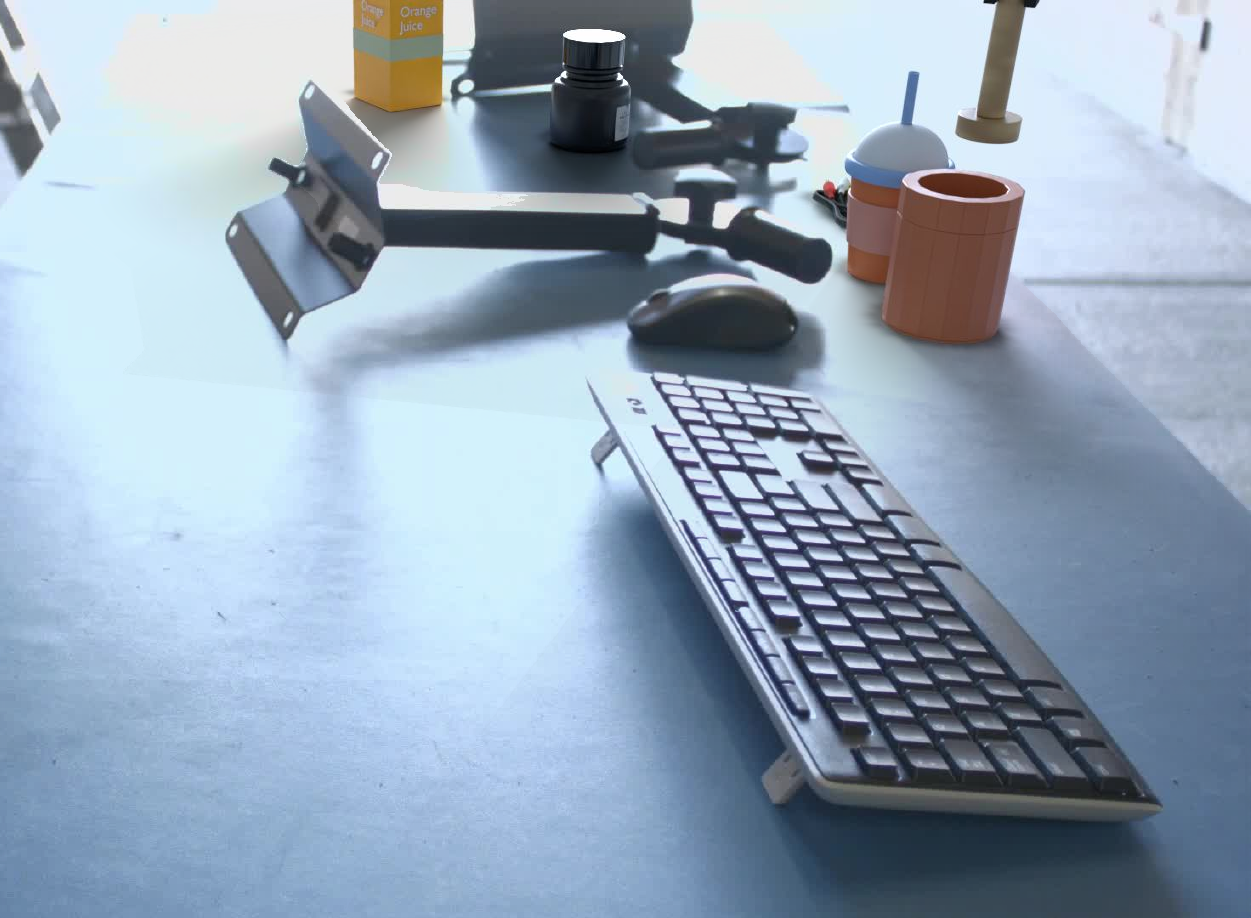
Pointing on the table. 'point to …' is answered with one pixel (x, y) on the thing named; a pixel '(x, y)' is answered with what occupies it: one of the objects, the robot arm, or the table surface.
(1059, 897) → the table surface
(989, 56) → the brass-colored tamper
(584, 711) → the table surface
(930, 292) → the jar
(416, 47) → the orange juice
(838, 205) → the composite cable
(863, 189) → the cup with straw
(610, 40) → the ink bottle
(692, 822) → the table surface
